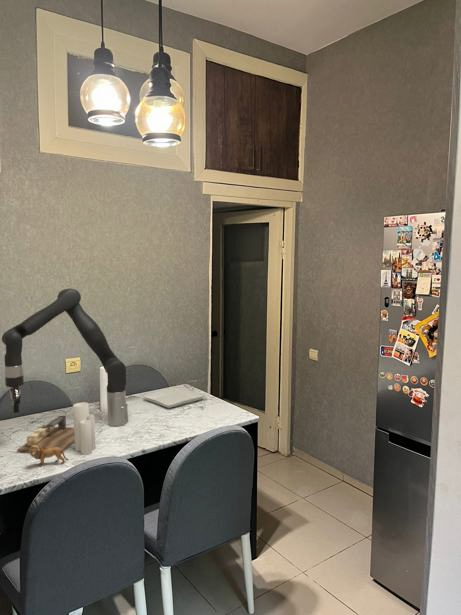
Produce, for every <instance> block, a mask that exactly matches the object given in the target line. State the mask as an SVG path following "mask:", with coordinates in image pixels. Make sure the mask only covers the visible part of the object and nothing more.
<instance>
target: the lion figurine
mask: <svg viewBox="0 0 461 615" xmlns="http://www.w3.org/2000/svg"><path fill="white" fill-rule="evenodd" d="M61 452H62V454H61ZM29 455H30V457H31V458H34V459H35V460H40V462H39V466H41V468H42V466H43V467H44V465H45V459H47V458H48V459H49V458H53V457H54V456H56V458H57V459H55V460H54V462H55V463H58V462H61V463H60V464H62V465H64V464H65V463H66V462H65V461H69V458H68V457H66V455H65V451H64V452H63V450H62V449H61V448H59V447H55V448H51V449H47V448H45V447H43V446H39V445H33V446H31V447H30V453H29ZM60 460H61V461H60Z"/></svg>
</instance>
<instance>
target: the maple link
mask: <svg viewBox="0 0 461 615" xmlns="http://www.w3.org/2000/svg"><path fill="white" fill-rule="evenodd" d="M47 424H48V423H46V424H42V426H40V428H39V429H37V430H36V431H35V432H33V433H31V434H30V435H29V436H27V437H26V443H27V446H33V445H35V444H36V443H38V442H39V441H40V440H42V439H43V438H45V437H46V436H47V435H50V427H47Z"/></svg>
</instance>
